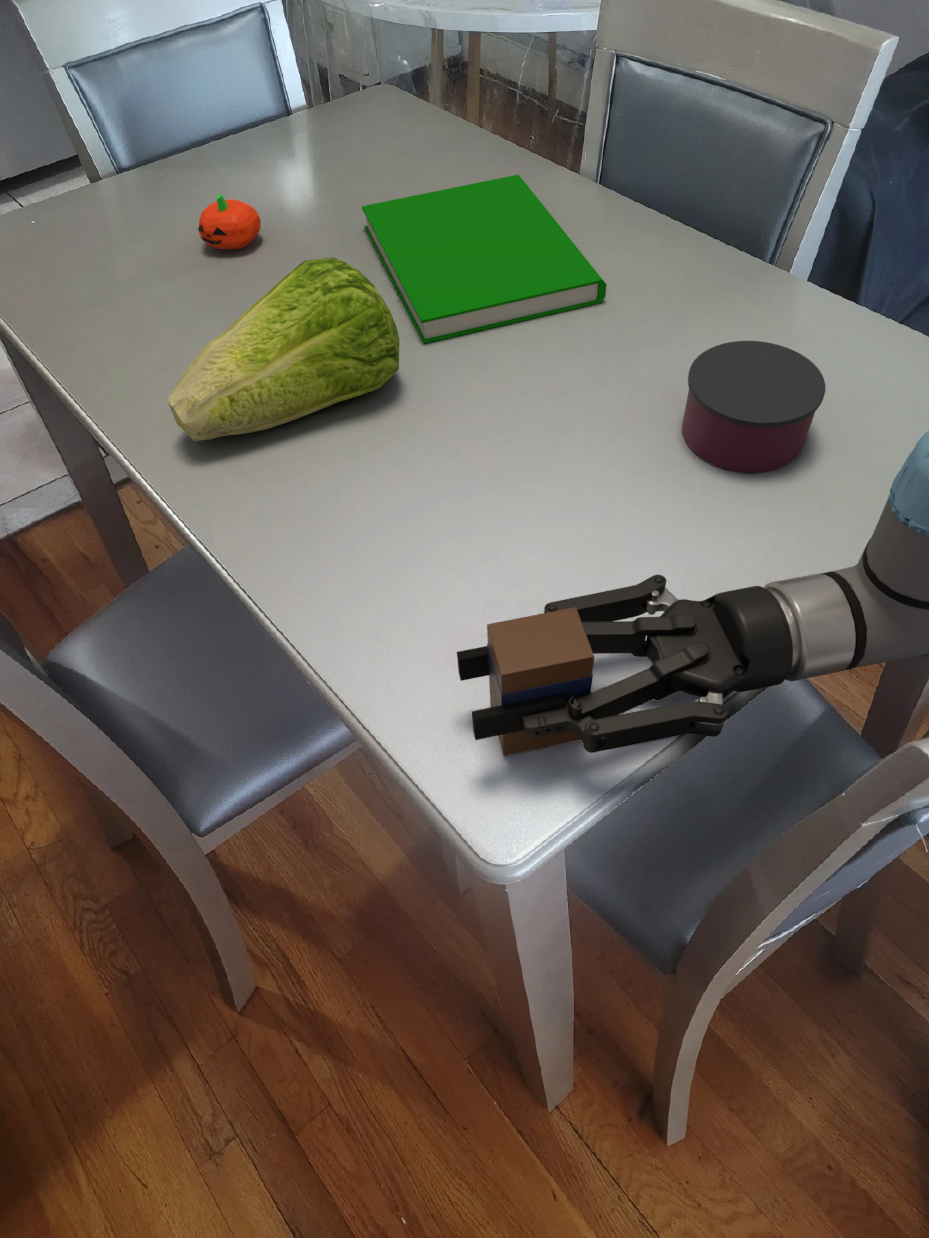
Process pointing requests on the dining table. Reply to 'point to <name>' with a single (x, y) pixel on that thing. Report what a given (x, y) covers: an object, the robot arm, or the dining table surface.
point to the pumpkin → (228, 224)
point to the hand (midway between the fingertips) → (466, 695)
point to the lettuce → (290, 354)
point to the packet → (538, 667)
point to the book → (479, 258)
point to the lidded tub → (750, 405)
